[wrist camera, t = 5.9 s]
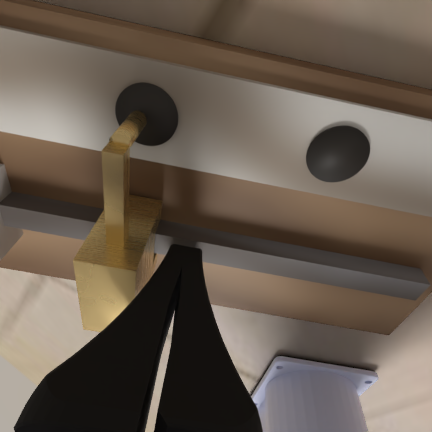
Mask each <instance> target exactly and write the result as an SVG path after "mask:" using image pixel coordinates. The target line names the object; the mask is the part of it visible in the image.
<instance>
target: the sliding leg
mask: <svg viewBox="0 0 432 432" xmlns="http://www.w3.org/2000/svg"><path fill="white" fill-rule="evenodd" d="M146 124H147V117H146V115H145V114H144V113H143V112H141V111H138V110H136V111H133V112H132V113H131V114H130V115H129V116H128V117H127V118H126V120H125V121H124V122H123V123H122V124H121V125H120V127H119V128H118V129H117V130H116V131H115V132H114V133H113V135H112V136H111V137H110V139H109V142H108V144H107V145H106V146H105V147H104V148H103V150H102V151H101V152H102V171H103V190H104V210H103V212H102V214H101V215H100V217H99V218H98V220H97V222H96V223H95V225H94V227H93V228H92V230H91V231H90V233H89V235H88V236H87V238H86V240H85V241H84V243H83V244H82V246H81V248H80V249H79V251H78V253H77V254H76V256H75V258H74V259H73V265H74V271H75V278H76V284H77V291H78V297H79V304H80V310H81V317H82V323H83V329H85V330H91V331H97V332H101V331H103V330H104V329H105V328H106V327H107V326H108V325H109V324H110V323H111V322H112V321H113V320H114V319H115V318H116V317H117V316H118V315H119V314H120V313H121V312H122V311H123V310H124V309H125V308H126V307H127V306H128V305H129V304H130V303H131V301H132V300H133V299H134V298H135V297H136V296H137V295H138V293H139V292H140V291H141V290H142V288H143V287H144V286H145V285H146V283H147V282H148V281H149V280H150V278H151V277H152V275H153V272H154V269H155V266H156V263H157V255H158V254H157V253H154V244H155V233H156V230H157V227H158V224H159V222H160V219H161V212H162V202H163V201H160V200H155V199H149V198H144V197H139V196H134V195H129V178H130V147H131V146H132V144H133V143H134V141H135V140H136V139H137V137H138V136H139V134H140V133H141V131H142V130H143V128H144V127H145V125H146Z"/></svg>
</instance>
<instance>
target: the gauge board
mask: <svg viewBox="0 0 432 432" xmlns="http://www.w3.org/2000/svg"><path fill="white" fill-rule="evenodd" d="M136 110H138V111H141V112H143V113H144V114H145V115H146V117H147V124H146V125H145V127H144V128H143V130H142V131H141V133H140V134H139V136H138V137H137V139H136V140H135V141H134V143H133V144H132V146H131V147H130V178H129V195H134V196H139V197H144V198H149V199H155V200H160V201H163V202H162V212H161V219H160V222H159V224H158V227H157V230H156V233H155V244H154V253H157V254H158V255H157V263H156V266H155V269H154V272H153V274H154V273H155V271H156V270H157V268H158V267H159V265H160V264H161V262H162V261H163V259H164V257H165V256H166V254H167V252H168V250H169V248H170V245H172V244H178V245H183V246H188V247H194V248H199V249H201V250H202V262H203V271H204V278H205V283H206V288H207V292H208V296H209V300H210V304H213V305H219V306H224V307H230V308H236V309H242V310H247V311H253V312H259V313H265V314H270V315H276V316H282V317H287V318H293V319H299V320H305V321H310V322H316V323H322V324H328V325H333V326H339V327H345V328H350V329H356V330H362V331H368V332H373V333H379V334H385V335H390V334H391V333H392V332H393V331H394V330H395V329H396V328H397V327H398V326H399V325H400V324H401V323H402V322H403V320H404V319H405V318H406V317H407V316H408V315H409V314H410V313H411V312H412V311H413V310H414V309H415V308H416V307H417V306H418V305H419V304H420V303H421V302H422V301H423V300H424V299H425V298H426V297H427V296H428V295H429V294H430V293H431V292H432V90H430V89H426V88H421V87H417V86H412V85H408V84H403V83H399V82H394V81H390V80H385V79H381V78H376V77H372V76H368V75H363V74H359V73H354V72H350V71H345V70H341V69H336V68H332V67H327V66H323V65H319V64H314V63H310V62H305V61H301V60H296V59H292V58H287V57H283V56H278V55H274V54H269V53H265V52H261V51H256V50H252V49H247V48H243V47H238V46H234V45H229V44H225V43H220V42H216V41H211V40H207V39H203V38H198V37H194V36H189V35H185V34H180V33H176V32H171V31H167V30H162V29H158V28H154V27H149V26H145V25H140V24H136V23H131V22H127V21H122V20H118V19H113V18H109V17H104V16H100V15H96V14H91V13H87V12H82V11H78V10H73V9H69V8H64V7H60V6H55V5H51V4H47V3H42V2H38V1H33V0H0V267H1V268H7V269H12V270H18V271H24V272H30V273H35V274H41V275H47V276H53V277H58V278H64V279H70V280H75V281H76V278H75V271H74V265H73V259H74V258H75V256H76V254H77V253H78V251H79V249H80V248H81V246H82V244H83V243H84V241H85V240H86V238H87V236H88V235H89V233H90V231H91V230H92V228H93V227H94V225H95V223H96V222H97V220H98V218H99V217H100V215H101V214H102V212H103V210H104V190H103V171H102V152H101V151H102V150H103V148H104V147H105V146H106V145H107V144H108V142H109V139H110V137H111V136H112V135H113V133H114V132H115V131H116V130H117V129H118V128H119V127H120V125H121V124H122V123H123V122H124V121H125V120H126V118H127V117H128V116H129V115H130V114H131V113H132V112H133V111H136Z"/></svg>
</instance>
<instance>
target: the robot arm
mask: <svg viewBox="0 0 432 432" xmlns="http://www.w3.org/2000/svg"><path fill="white" fill-rule="evenodd" d="M174 311H175V314H174ZM173 314H174V323H173V332H172V342H171V348H170V353H169V358H168V363H167V368H166V373H165V378H164V383H163V388H162V393H161V397H160V402H159V407H158V412H157V418H156V424H155V430H154V432H368V429H367V425H366V421H365V418H364V414H363V411H362V407H361V403H360V400H359V396H360V395H361V394H362V393H363V392H364V391H366V390H367V389H368V388H369V387H370V386H371V385H373V384H374V383H375V382H376V381H377V380H378V375H377V373H376V372H374V371H368V370H362V369H356V368H350V367H344V366H338V365H332V364H326V363H320V362H314V361H308V360H302V359H296V358H290V357H284V356H278V357H276V358H275V359H274V360H273V362H272V364H271V365H270V367H269V368H268V370H267V372H266V373H265V375H264V376H263V378H262V380H261V381H260V383H259V385H258V386H257V388H256V389H255V391H254V393H253V394H252V396H250V395H249V393H248V391H247V389H246V387H245V386H244V384H243V382H242V380H241V378H240V376H239V374H238V372H237V370H236V368H235V366H234V364H233V362H232V360H231V358H230V355H229V353H228V351H227V349H226V347H225V344H224V342H223V339H222V337H221V334H220V332H219V329H218V326H217V323H216V320H215V317H214V314H213V311H212V307H211V304H210V300H209V296H208V292H207V288H206V283H205V278H204V271H203V262H202V250H201V249H199V248H194V247H188V246H183V245H178V244H172V245H170V248H169V250H168V252H167V254H166V256H165V257H164V259H163V261H162V262H161V264H160V265H159V267H158V268H157V270H156V271H155V273H154V274H153V275H152V277H151V278H150V280H149V281H148V282H147V283H146V285H145V286H144V287H143V288H142V290H141V291H140V292H139V293H138V295H137V296H136V297H135V298H134V299H133V300H132V301H131V303H130V304H129V305H128V306H127V307H126V308H125V309H124V310H123V311H122V312H121V313H120V314H119V315H118V316H117V317H116V318H115V319H114V320H113V321H112V322H111V323H110V324H109V325H108V326H107V327H106V328H105V329H104V330H103V331H101V332H100V333H99V334H98V335H97V336H96V337H95V338H93V339H92V340H91V341H90V342H89V343H87V344H86V345H85V346H84V347H83V348H81V349H80V350H79V351H78V352H77V353H75V354H74V355H73V356H71V357H70V358H69V359H67V360H66V361H65V362H63V363H62V364H61V365H59V366H58V367H57V368H55V369H54V370H52V371H51V372H50V373H48V374H47V375H46V376H45V377H44V379H43V380H42V381H41V383H40V384H39V385H38V387H37V388H36V389H35V391H34V392H33V394H32V395H31V397H30V399H29V400H28V402H27V403H26V405H25V407H24V409H23V411H22V413H21V415H20V417H19V419H18V421H17V423H16V425H15V427H14V430H15V432H145V428H146V424H147V419H148V414H149V409H150V405H151V400H152V395H153V390H154V386H155V381H156V376H157V372H158V367H159V362H160V358H161V354H162V350H163V347H164V343H165V340H166V337H167V334H168V330H169V327H170V324H171V320H172V317H173Z"/></svg>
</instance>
